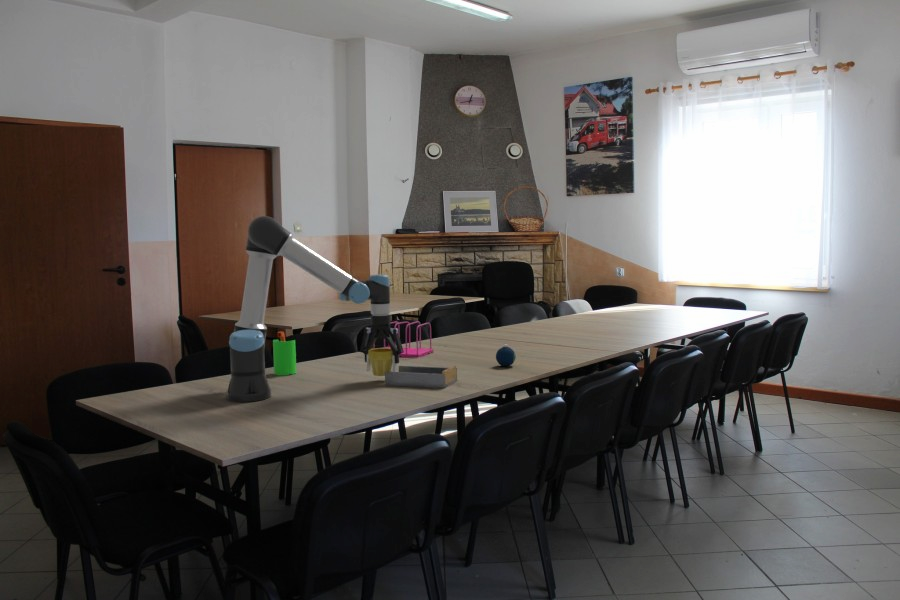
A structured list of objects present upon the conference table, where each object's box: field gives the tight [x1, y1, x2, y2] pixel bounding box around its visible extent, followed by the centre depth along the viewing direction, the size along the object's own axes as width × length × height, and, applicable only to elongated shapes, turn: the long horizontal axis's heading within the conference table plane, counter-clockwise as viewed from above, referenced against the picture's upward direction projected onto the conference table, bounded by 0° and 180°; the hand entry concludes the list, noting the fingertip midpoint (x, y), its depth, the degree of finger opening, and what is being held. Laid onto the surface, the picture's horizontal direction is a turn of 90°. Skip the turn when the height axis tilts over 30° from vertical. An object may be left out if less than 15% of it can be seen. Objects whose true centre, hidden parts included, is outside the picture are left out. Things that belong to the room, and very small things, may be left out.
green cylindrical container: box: [272, 331, 297, 376], centre depth 294 cm, size 9×8×18 cm
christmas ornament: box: [495, 343, 516, 367], centre depth 302 cm, size 8×8×10 cm
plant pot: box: [368, 347, 394, 377], centre depth 275 cm, size 10×10×10 cm
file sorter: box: [372, 320, 434, 358], centre depth 341 cm, size 17×25×16 cm
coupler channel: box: [384, 365, 458, 389], centre depth 270 cm, size 14×24×6 cm, turn 70°
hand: (382, 371), depth 275 cm, fingers closed on plant pot, 10 cm apart
